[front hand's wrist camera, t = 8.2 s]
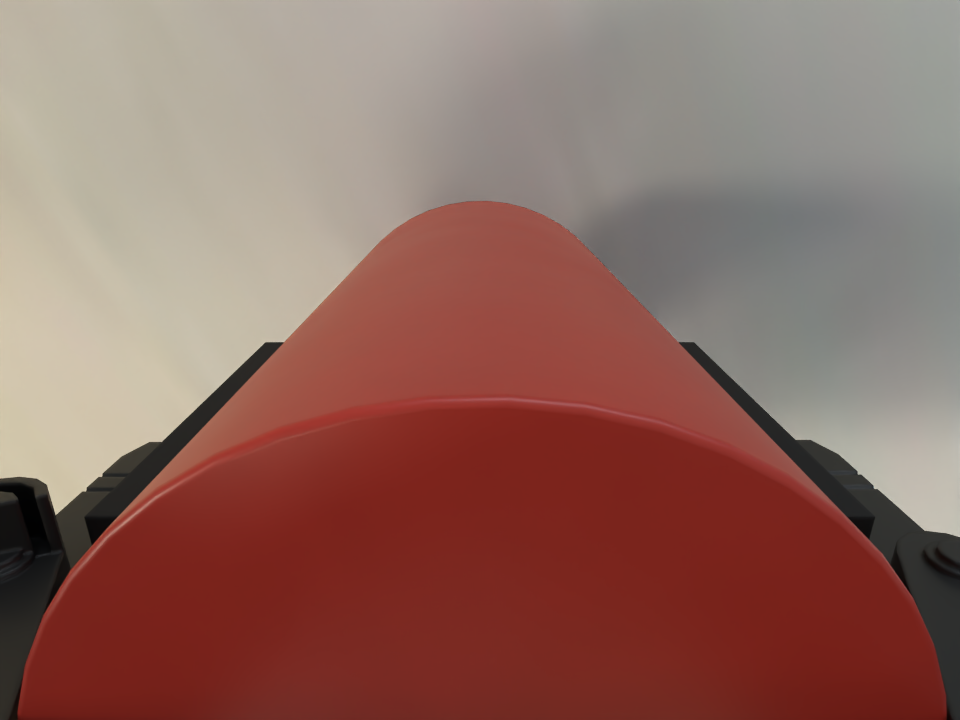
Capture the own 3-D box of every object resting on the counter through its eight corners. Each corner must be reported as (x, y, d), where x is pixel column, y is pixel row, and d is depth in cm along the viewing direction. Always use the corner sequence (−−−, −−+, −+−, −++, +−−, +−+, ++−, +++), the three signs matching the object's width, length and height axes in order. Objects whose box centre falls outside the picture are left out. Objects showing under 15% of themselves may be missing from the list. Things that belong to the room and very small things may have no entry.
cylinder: (541, 500, 19) (646, 1114, 7) (303, 404, 18) (-52, 944, 6) (672, 276, 17) (1174, 641, 5) (405, 148, 15) (144, 186, 3)
